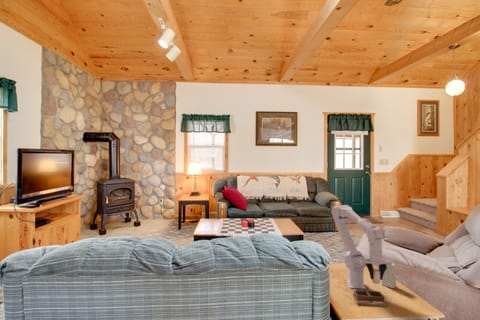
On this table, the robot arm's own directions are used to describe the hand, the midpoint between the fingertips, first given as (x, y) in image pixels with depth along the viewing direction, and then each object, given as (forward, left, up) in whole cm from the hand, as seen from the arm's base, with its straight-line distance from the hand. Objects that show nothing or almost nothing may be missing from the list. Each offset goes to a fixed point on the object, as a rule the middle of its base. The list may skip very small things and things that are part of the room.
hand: (376, 278), depth 141 cm
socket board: (+5, -5, -9) cm, 11 cm away
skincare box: (-14, +10, -9) cm, 19 cm away
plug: (0, 0, -2) cm, 2 cm away
